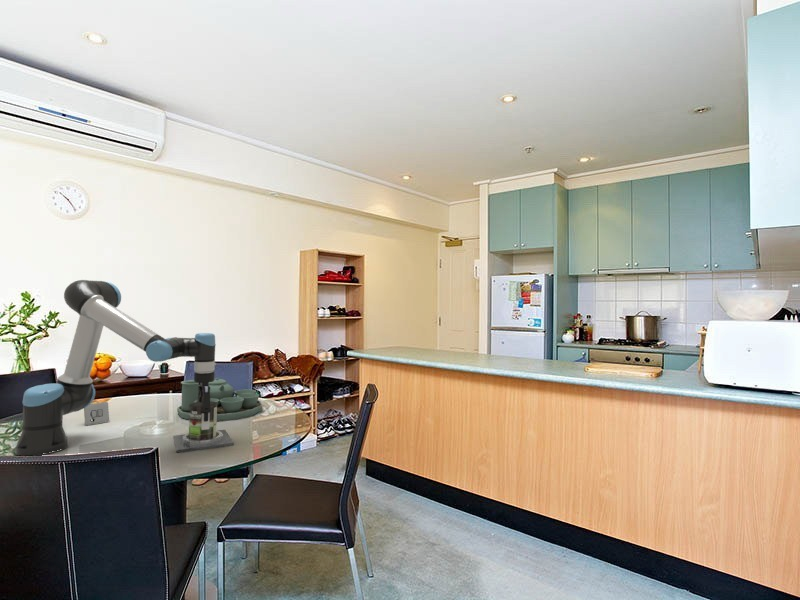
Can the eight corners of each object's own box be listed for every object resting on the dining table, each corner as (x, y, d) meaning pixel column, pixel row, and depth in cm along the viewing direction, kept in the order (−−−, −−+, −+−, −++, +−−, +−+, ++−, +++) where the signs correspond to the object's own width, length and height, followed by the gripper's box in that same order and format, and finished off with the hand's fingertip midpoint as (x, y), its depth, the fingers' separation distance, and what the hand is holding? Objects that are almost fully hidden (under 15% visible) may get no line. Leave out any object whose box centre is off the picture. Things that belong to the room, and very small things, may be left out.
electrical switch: (85, 426, 196) (85, 405, 197) (81, 425, 199) (81, 404, 200) (109, 422, 203) (109, 401, 204) (105, 421, 206) (105, 401, 207)
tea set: (216, 426, 200) (217, 390, 200) (160, 415, 219) (161, 381, 219) (278, 409, 235) (279, 378, 236) (225, 400, 254) (226, 371, 254)
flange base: (176, 452, 164) (177, 446, 164) (173, 438, 182) (173, 432, 182) (233, 445, 175) (233, 438, 175) (224, 431, 192) (225, 426, 192)
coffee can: (204, 444, 172) (205, 407, 172) (182, 441, 175) (183, 405, 175) (222, 436, 181) (223, 402, 182) (201, 434, 184) (202, 400, 185)
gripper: (219, 375, 170) (218, 431, 169) (210, 367, 191) (208, 417, 191) (197, 377, 166) (196, 434, 166) (191, 368, 187) (189, 419, 187)
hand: (203, 425), depth 178 cm, fingers open, 12 cm apart
